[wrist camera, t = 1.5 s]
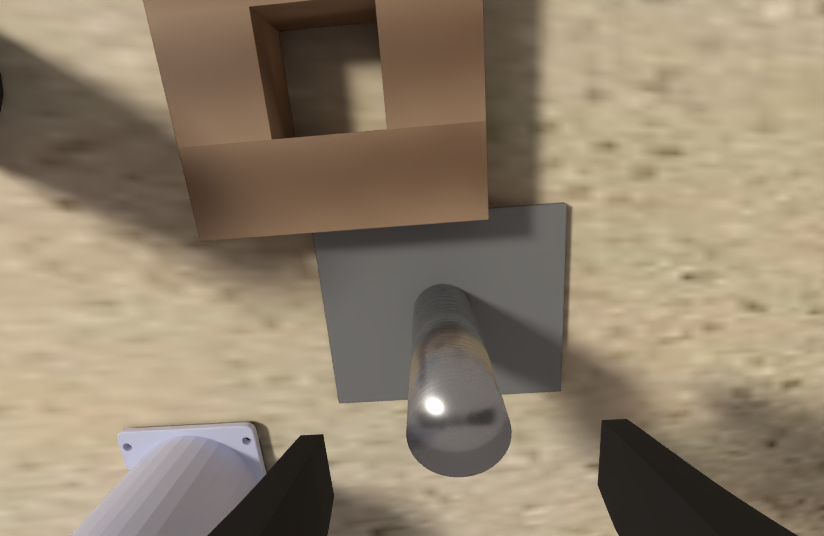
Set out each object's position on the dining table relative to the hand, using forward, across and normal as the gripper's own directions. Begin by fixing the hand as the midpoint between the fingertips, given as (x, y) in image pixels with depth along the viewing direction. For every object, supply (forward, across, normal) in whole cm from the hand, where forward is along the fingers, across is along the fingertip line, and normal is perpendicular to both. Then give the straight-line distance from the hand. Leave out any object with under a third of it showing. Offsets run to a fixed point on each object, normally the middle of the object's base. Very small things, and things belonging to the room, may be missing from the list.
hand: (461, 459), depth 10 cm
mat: (+10, 0, 0) cm, 11 cm away
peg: (+10, 0, 0) cm, 10 cm away
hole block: (+10, +4, -11) cm, 16 cm away
